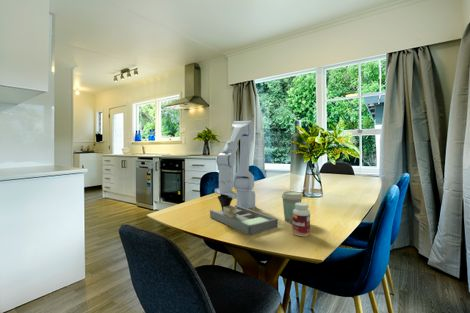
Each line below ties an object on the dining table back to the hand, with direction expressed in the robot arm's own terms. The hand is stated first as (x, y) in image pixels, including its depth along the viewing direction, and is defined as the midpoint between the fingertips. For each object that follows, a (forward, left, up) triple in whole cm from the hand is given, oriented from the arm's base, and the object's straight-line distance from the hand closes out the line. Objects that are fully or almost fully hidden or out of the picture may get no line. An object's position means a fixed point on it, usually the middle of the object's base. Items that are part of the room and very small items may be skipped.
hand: (225, 212), depth 106 cm
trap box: (-4, +6, -3) cm, 8 cm away
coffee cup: (-22, +18, -3) cm, 28 cm away
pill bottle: (-13, +30, -3) cm, 33 cm away
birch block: (0, +3, -1) cm, 3 cm away
